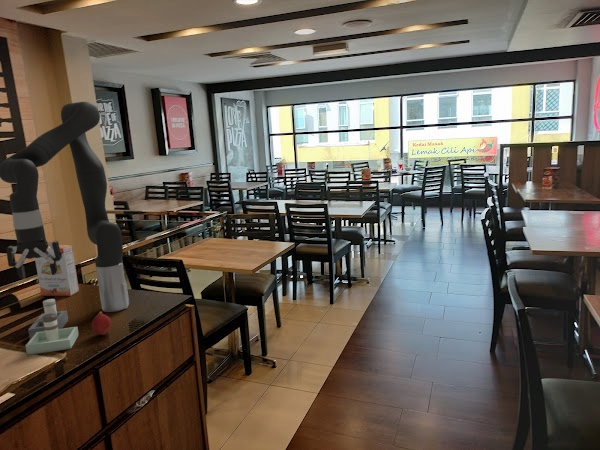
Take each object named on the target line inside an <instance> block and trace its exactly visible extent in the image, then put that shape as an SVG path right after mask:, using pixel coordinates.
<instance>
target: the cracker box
mask: <svg viewBox="0 0 600 450" xmlns="http://www.w3.org/2000/svg"><path fill="white" fill-rule="evenodd" d="M59 247H60V251H61V255H62V258H61V259H60V260H59V261H57V262H56V264H57V272H56V274H55V275H52V274H51V268H50V262H49V261H47V260H46V259H44V258H43V257H40V258H34V261H35V268H36V272H37V278H38V284H39V289H40V294H41V296H43V297H44V296H46V297H49V296H51V297H71V296H74V295H75V294H77V293H79V292H80V288H79V281H78V276H77V275H78V274H77V270H76V269H77V268H76V264H75V258H74V256H75V255H74V250H73V245H72V244H65V245H64V244H59ZM47 251H48V252H49V253H50V254H51V255H52V256H53V257H54V258H55V254H54V250H53V249H51V247H50V246H48V248H47Z"/></svg>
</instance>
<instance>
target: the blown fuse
mask: <svg viewBox="0 0 600 450" xmlns="http://www.w3.org/2000/svg"><path fill="white" fill-rule="evenodd" d="M42 318H43V323H44V330H45V335H46V341H47V342H49V341H55V340H60V338H59V331H58V323H57V317H56V314H55V313H51V314H47V315H44V316H43V317H42Z"/></svg>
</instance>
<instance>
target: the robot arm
mask: <svg viewBox="0 0 600 450" xmlns="http://www.w3.org/2000/svg"><path fill="white" fill-rule="evenodd" d="M60 112H61V113H60V117H61V122H62V123H61V124H60V125H58V126H56V127H54V128H52V129H50V130H48V131H45V132H44V133H43V134H41V135H39V136H37V138H35V139H34V140H33V141H31V143H30V144H28V145H27V146H26V147H24V148H23V149H21V150H19V151H17V152H16V153H14V154H12V155H10V156H8V157H7V158H6V159H4V160H3V161H2V162H1V163H0V179H1V180H2V181H3V182H5V183H8V184H16V191H14V192H11V194H10V195H9V204H10V209H11V212H12V223H13V224H12V225H13V228H14V233H15V238H16V244H17V245H16V246H13V245H9V246H8V247H6V250H5V251H6V257H7V266H8V267H11V268H12V267H14V268H16V271H17V275H18V276H17V277H18V278H19V279H20V280H25V278H27V277H26V271H25V270H26V269H25V265H23V264H24V263H25V261H26V260H27V259H28V260H31V259H35V258H40V257H43V258H44V259H46V260H47V261H49V262H50V268H51V274H52V275H55V274H56V272H57V264H56V262H57V261H59V260H60V259H61V258H62V255H61V251H60V247H59V245H60V244H59V241H58V240H54V241H51V242H48V241H47V239H46V233H45V228H44V227H45V226H44V220H43V217H42V213H41V210H40V205H39V200H38V196H37V195H38V189H39V170H38V168H39V167H40V168H41V167H43V166H45V165H46V164H47V163H49V162H50V160H52V159H53V158H54V157H55V156H56V155H57V154H58V153H59V152H61V151H62V150H63V149H64V148H66V147H67V146H68V145H69V148H70V152H71V155H72V159H73V163H74V168H75V175H76V180H77V183H78V187H79V191H80V197H81V200H82V204H83V207H84V214H85V222H86V232H87V233H86V234H87V237H88V239H89V241H90V242H91V243H93V244H94V245H96V249H97V250H96V251H97V256H96V257H95V259H94V264H95V271H96V276H97V277H96V278H97V283H98V290H99V298H100V304H101V311H102V312H105V313H111V312H112V313H114V312H119V311H122V310H125V309H128V308H129V304H130V298H129V293H128V292H129V291H128V285H127V280H126V278H125V271H124V270H125V269H124V264H123V257H124V256H123V255H124V249H123V248H124V245H123V238H122V237H123V236H122V231H121V229H120V227H119V225H117V224H116V223H114V222H111V221H109V218H108V213H107V208H106V197H107V191H108V183H107V177H106V172H105V168H104V165H103V163H102V161H101V160H100V158H99V157H98V156H97V154H96V153H95V152H94V151H93V149H92V147H91V146H90V144H89V142H88V139H87V134H86V133H87V132H88V131H90V130H91V129H93V128H95V127H96V126H98V124H99V122H100V119H101V115H100V114H101V113H100V111H99V108H98V107H97V106H96V105H95V104H94V103H92V102H90V101H78V102H72V103H66V104H64V105H63V106H62V108H61V111H60ZM48 246H50V247H51V249H53V250H54V254H55V258H54V257H53V256H52V255H51V254H50V253H49V252H48V251H47V248H48ZM17 251H18V252H19V253H20V254H21V256H20V257H19V258H18V260H17V261H16V255H15V253H17Z"/></svg>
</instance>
